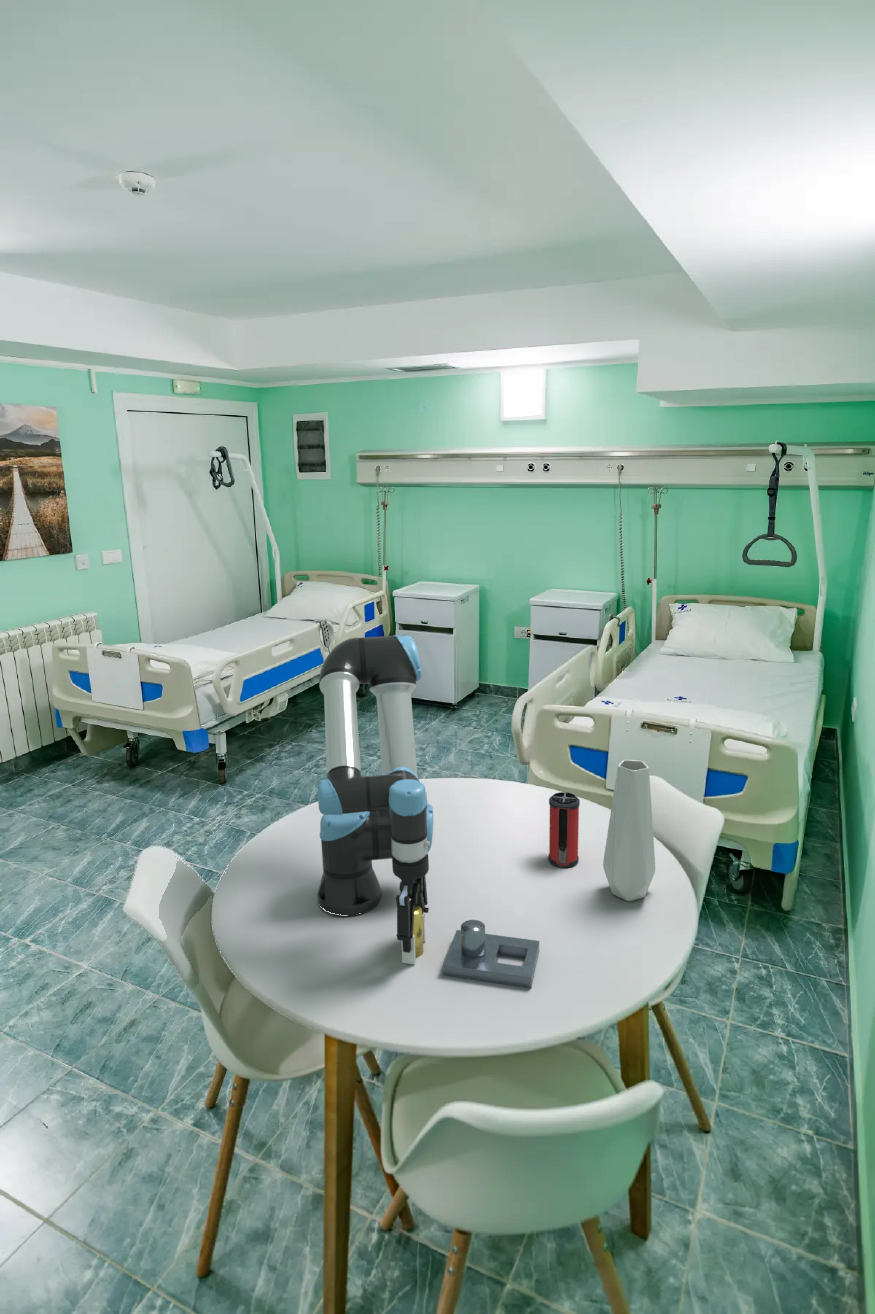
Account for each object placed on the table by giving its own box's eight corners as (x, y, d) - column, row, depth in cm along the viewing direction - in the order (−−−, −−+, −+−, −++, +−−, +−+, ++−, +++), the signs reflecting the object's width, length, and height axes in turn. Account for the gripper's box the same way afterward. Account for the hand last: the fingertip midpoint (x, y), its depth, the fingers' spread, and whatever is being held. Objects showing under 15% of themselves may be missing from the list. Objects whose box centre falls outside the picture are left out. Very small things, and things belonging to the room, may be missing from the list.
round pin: (402, 956, 160) (400, 914, 158) (408, 944, 164) (406, 904, 161) (420, 959, 159) (418, 917, 157) (425, 947, 163) (424, 906, 160)
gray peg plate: (443, 975, 154) (442, 941, 152) (457, 939, 165) (456, 907, 163) (531, 988, 149) (531, 953, 147) (539, 951, 160) (539, 918, 158)
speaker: (547, 866, 193) (547, 802, 189) (550, 852, 201) (550, 789, 196) (577, 869, 192) (578, 804, 187) (579, 854, 199) (580, 791, 194)
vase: (610, 874, 189) (614, 751, 181) (657, 886, 183) (663, 759, 175) (594, 898, 179) (597, 769, 171) (642, 911, 173) (648, 778, 165)
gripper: (413, 881, 145) (418, 984, 151) (439, 833, 164) (442, 926, 170) (376, 877, 147) (382, 978, 153) (406, 830, 166) (411, 922, 172)
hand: (414, 951), depth 161 cm, fingers open, 7 cm apart
